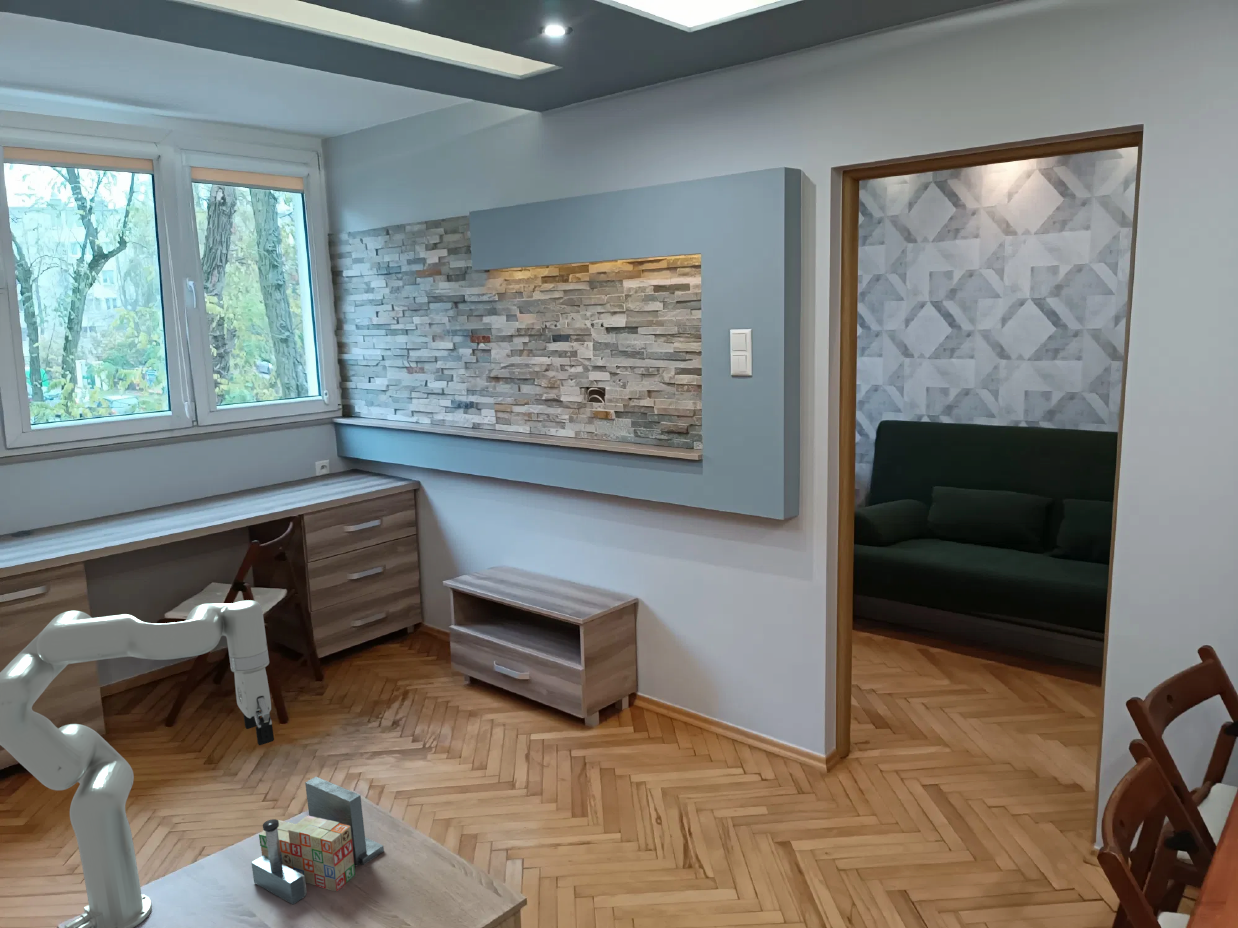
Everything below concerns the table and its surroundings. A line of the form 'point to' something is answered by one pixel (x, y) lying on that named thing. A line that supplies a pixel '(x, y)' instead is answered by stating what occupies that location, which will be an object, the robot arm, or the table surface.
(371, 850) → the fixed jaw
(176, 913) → the table surface
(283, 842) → the stack of blocks
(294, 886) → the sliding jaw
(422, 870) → the table surface
